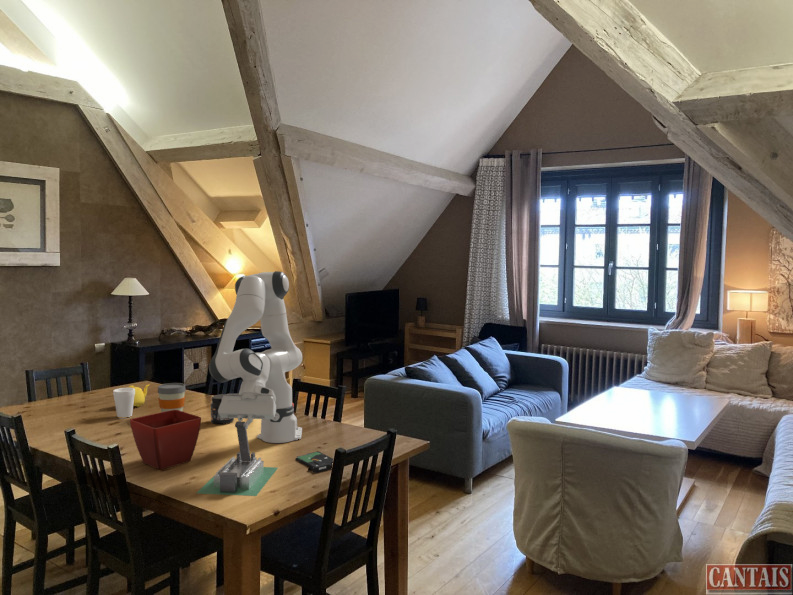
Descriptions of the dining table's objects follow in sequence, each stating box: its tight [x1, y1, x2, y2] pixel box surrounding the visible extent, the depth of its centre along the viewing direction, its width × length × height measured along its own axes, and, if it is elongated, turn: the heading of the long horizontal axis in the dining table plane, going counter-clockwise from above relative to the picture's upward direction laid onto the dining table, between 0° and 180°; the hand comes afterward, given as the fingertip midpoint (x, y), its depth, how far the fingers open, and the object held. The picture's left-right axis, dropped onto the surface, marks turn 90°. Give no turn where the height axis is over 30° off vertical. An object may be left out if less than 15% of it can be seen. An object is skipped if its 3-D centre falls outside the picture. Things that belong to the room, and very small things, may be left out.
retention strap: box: [234, 420, 251, 461], centre depth 212 cm, size 17×3×2 cm
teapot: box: [128, 383, 151, 408], centre depth 309 cm, size 18×11×11 cm, turn 135°
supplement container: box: [210, 393, 235, 425], centre depth 283 cm, size 10×10×12 cm
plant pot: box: [129, 410, 202, 470], centre depth 228 cm, size 19×19×17 cm
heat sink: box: [213, 451, 264, 493], centre depth 207 cm, size 20×12×7 cm, turn 175°
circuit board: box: [195, 466, 279, 497], centre depth 209 cm, size 26×20×1 cm
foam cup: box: [112, 387, 135, 419], centre depth 290 cm, size 10×9×13 cm
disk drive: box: [295, 450, 334, 474], centre depth 228 cm, size 10×3×15 cm
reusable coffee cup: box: [157, 382, 186, 413], centre depth 291 cm, size 13×13×15 cm
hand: (242, 428), depth 212 cm, fingers closed
